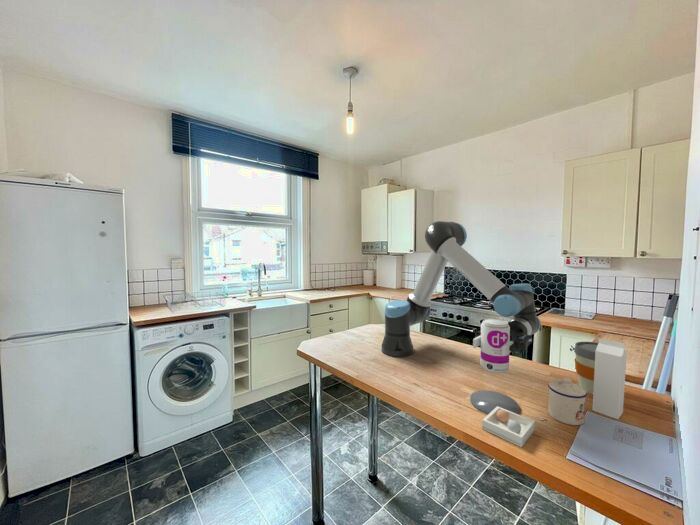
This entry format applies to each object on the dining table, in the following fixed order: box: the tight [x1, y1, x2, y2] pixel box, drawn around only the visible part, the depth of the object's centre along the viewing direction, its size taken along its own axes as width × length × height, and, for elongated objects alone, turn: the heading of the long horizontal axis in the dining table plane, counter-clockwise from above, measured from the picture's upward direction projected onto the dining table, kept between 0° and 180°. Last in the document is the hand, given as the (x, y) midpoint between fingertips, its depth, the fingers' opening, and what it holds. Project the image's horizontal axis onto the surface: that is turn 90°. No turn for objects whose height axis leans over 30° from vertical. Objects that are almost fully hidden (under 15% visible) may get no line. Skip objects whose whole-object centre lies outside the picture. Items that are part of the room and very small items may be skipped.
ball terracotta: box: [497, 410, 509, 422], centre depth 83 cm, size 3×3×3 cm
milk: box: [592, 338, 628, 420], centre depth 88 cm, size 6×6×22 cm
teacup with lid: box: [547, 377, 588, 426], centre depth 87 cm, size 12×9×12 cm
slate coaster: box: [469, 389, 520, 415], centre depth 94 cm, size 14×14×1 cm
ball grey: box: [508, 420, 521, 434], centre depth 78 cm, size 3×3×3 cm
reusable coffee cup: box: [573, 341, 599, 395], centre depth 101 cm, size 12×13×15 cm
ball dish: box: [481, 406, 536, 448], centre depth 81 cm, size 10×10×3 cm
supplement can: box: [479, 318, 510, 374], centre depth 92 cm, size 8×8×15 cm
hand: (488, 347), depth 89 cm, fingers closed on supplement can, 8 cm apart
